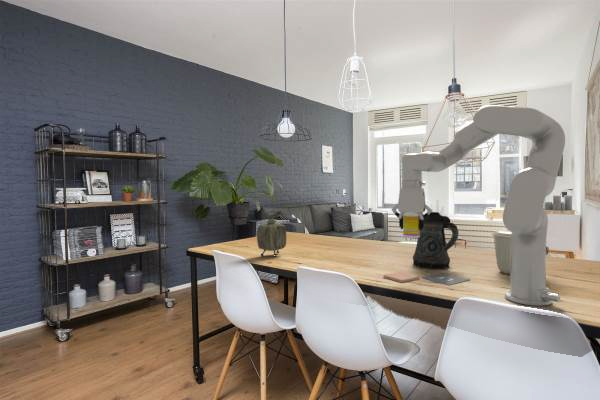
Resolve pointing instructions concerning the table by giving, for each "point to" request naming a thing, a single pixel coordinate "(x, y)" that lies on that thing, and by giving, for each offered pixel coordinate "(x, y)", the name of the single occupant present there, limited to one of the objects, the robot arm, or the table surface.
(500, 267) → the canister
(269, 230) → the tabletop clock
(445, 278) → the tile
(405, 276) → the coaster pad
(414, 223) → the supplement bottle
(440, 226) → the beer stein
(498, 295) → the table surface
